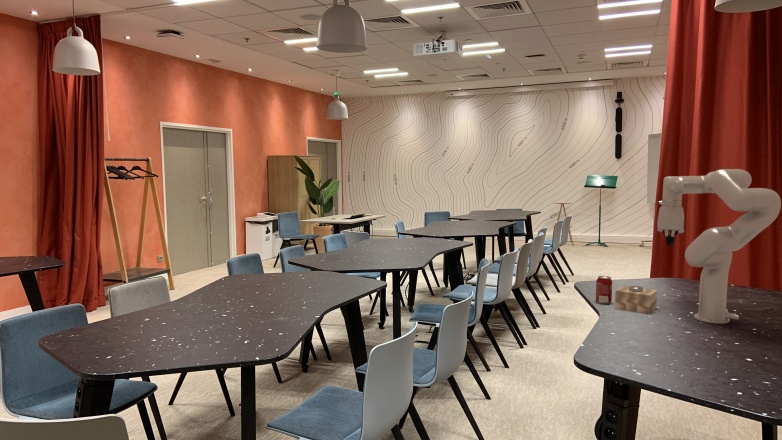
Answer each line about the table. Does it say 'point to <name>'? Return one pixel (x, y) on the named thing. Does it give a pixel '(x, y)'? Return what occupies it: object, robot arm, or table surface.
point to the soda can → (604, 290)
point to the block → (636, 300)
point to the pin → (636, 288)
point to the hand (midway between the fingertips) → (669, 245)
